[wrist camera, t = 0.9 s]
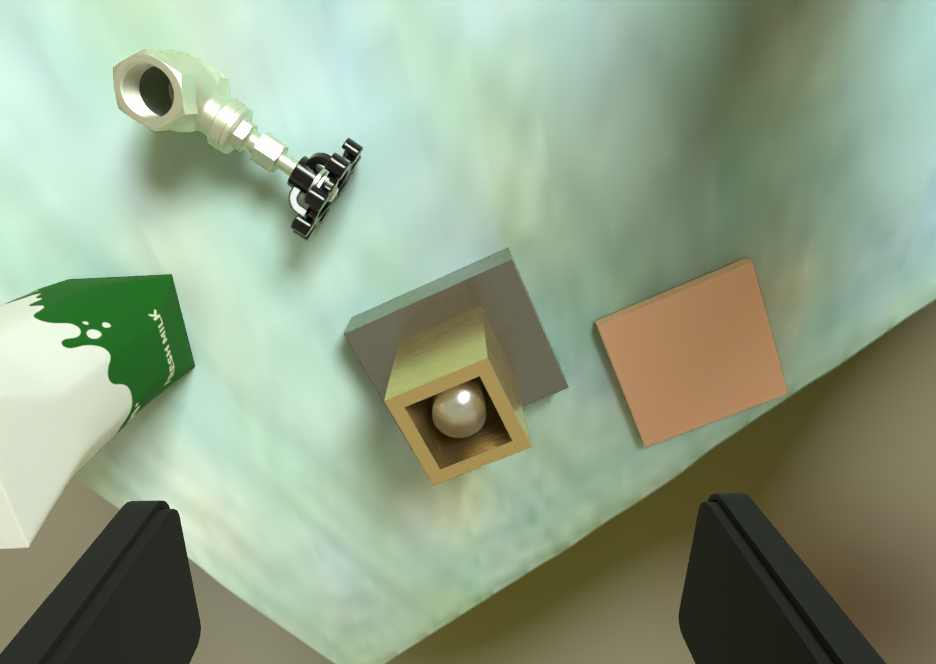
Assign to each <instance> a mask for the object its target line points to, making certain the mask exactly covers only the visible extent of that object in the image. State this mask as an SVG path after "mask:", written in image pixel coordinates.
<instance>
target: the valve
mask: <svg viewBox="0 0 936 664" xmlns="http://www.w3.org/2000/svg"><path fill="white" fill-rule="evenodd" d="M113 80H114V89H115V95H116V100H117V104H118V108H119V109H120V110H121V111H122V112H124V113H125V114H127V115H128V116H130V117H131V118H133V119H134V120H136V121H137V122H139V123H140V124H142V125H144V126H146V127H147V128H149V129H151V130H153V131H165V130H171V131H175V132H194V131H200V132H202V133H203V134H205V135H206V136H207V141H208V143H209V144H210V145H211V146H213V147H214V148H216V149H217V150H219V151H221V152H222V153H224V154H228V153H230V152H232V151H233V150H234V149H235V150H237V151H239V152H243V151H245V150H248V151H250V152H251V153H252V155H251V158H250V159H251V160H252V161H254V162H255V163H257V164H258V165H260V166H262V167H263V168H265V169H266V170H268V171H269V172H274V171H275V170H276V169H277V168H278V169H280V170H281V171H283V172H284V173H286V174H287V175H289V176H290V177H289V179H288V183H287V184H288V185H289V186H290V187H292V189H291V191H290V193H289V205H290V208H291V210H292V211H293V212H294V214H296V215H297V216H296V218H295V219H294V221H293V223H292V225H291V228H292V229H293V232H294V233H295V234H297V235H298V236H300V237H302V238H303V239H305V240H309V239H310V237H311V236H312V234H313V233H314V231H315V229H316V227H317V223H318V222H319V223H322V222H323V221H324V220H325V218H326V217H327V215H328V213H329V211H330V209H329V207H330V205H331V204H332V202H333V201H334V199H335V197H336V196H340V195H341V193H342V192H343V190H344V189H345V187H346V185H347V183H348V182H347V181H346V179H347V177H348V175H349V174H350V172H353V171H354V169H355V168H356V166H357V165H358V163H359V161H360V159H361V156H360V154H361V152H362V150H363V147H362V146H360V145H359V144H357V143H356V142H354V141H353V140H352V139H350V138H348V139H347V140H346V141H345V143H344V144H343V146H342V148H343V149H345V151H344V154H343V156H342V157H341V156H340V155H338V154H337V153H334V154H333V155H332V156H330V155H328V154H326V153H315V154H313V155H312V156H311V157H310V158H308V157H306V156H304V157H303V158H302V159H301V160H300V161H299V162H298V161H297V160H295V159H294V158H292V157H291V156H289V155H288V154H287V151H288V146H287V145H286V144H284V143H283V142H281V141H280V140H278V139H277V138H275V137H274V136H272V135H271V134H269V133H267V134H263V136H262V135H260V134H259V133H258V132H257V125H256V124H254V123H253V122H251V121H252V116H253V111H252V110H251V109H250V108H249V107H248V106H246V105H245V104H243V103H242V102H240V101H239V100H237V99H231V100H230V87H229V78H227V77H226V76H224V75H223V74H221V73H220V72H218V71H217V70H215V69H214V68H213V67H211V66H210V65H208V64H207V63H205V62H204V61H202V60H201V59H199V58H195V57H193V56H191V55H189V54H187V53H184V52H180V51H174V50H164V51H159V52H158V51H152V50H146V49H144V50H142V51H140V52H138V53H136V54H134V55H132V56H130V57H129V58H127V59H125V60H124V61H122V62H120V63H119V64H117V65H116V66H115V67H113ZM318 164H321V165H323V166H325V169H324V168H323V167H321V166H320V165H318ZM327 170H328V171H329V174H327ZM301 194H302V195H304V196H305V198H304V202H305V203H306V204H308V205H309V207H308V209H305V208H304V207H302V206H301V205H300V204H299V203H298V198H299V196H300V195H301Z"/></svg>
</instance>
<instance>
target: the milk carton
mask: <svg viewBox="0 0 936 664" xmlns="http://www.w3.org/2000/svg"><path fill="white" fill-rule="evenodd" d="M194 366H195V364H194V360H193V356H192V352H191V348H190V345H189V341H188V337H187V333H186V329H185V325H184V321H183V317H182V313H181V309H180V305H179V301H178V297H177V293H176V289H175V285H174V281H173V278H172V274H169V275H149V276H128V277H108V278H87V279H68V280H65V281H62V282H59V283H56V284H53V285H50V286H47V287H44V288H41V289H38V290H36V291H33V292H31V293H29V294H26V295H24V296H22V297H20V298H17V299H15V300H13V301H11V302H8V303H6V304H4V305H2V306H0V549H13V548H28V547H29V546H30V545H31V543H32V541H33V540H34V538H35V536H36V535H37V533H38V532H39V530H40V528H41V527H42V525H43V523H44V522H45V520H46V519H47V517H48V515H49V513H50V512H51V510H52V509H53V507H54V506H55V504H56V502H57V501H58V499H59V497H60V496H61V494H62V493H63V491H64V489H65V488H66V486H67V484H68V483H69V482H70V480H71V478H72V477H73V476H74V475H75V474H76V473H77V472H78V471H79V470H80V469H81V468H82V467H83V466H84V465H85V464H86V463H87V462H88V461H89V460H90V459H91V458H92V457H93V456H94V455H95V454H96V453H97V452H98V451H99V450H100V449H101V448H102V447H103V446H104V445H106V444H107V443H108V442H109V441H110V440H111V439H112V438H113V437H114V436H115V435H116V434H117V433H118V432H119V431H120V430H121V429H122V428H123V427H124V426H125V425H126V424H127V423H128V422H129V421H130V420H131V419H132V418H133V417H134V416H135V415H136V414H137V413H138V412H139V411H140V410H141V409H142V408H143V407H144V406H146V405H147V404H148V403H149V402H150V401H151V400H153V399H154V398H155V397H156V396H158V395H159V394H160V393H161V392H163V391H164V390H165V389H167V388H168V387H169V386H170V385H172V384H173V383H174V382H175V381H177V380H178V379H179V378H180V377H182V376H183V375H184V374H185V373H187V372H188V371H189V370H190V369H192V368H193V367H194Z"/></svg>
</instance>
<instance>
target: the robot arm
mask: <svg viewBox="0 0 936 664" xmlns="http://www.w3.org/2000/svg"><path fill="white" fill-rule="evenodd" d="M679 624H680V629H681V633H682V635H683V638H684V640H685V642H686V644H687V646H688V649H689V651H690V653H691V655H692V657H693V659H694V661H695V663H696V664H886V663H885V662H884V660H883V659H882V658H881V657H880V656H879V654H878V653H877V652H876V651H875V650H874V648H873V647H872V646H871V645H870V643H869V642H868V641H867V640H866V638H865V637H864V636H863V635H862V634H861V632H860V631H859V630H858V629H857V627H856V626H855V625H854V624H853V623H852V622H851V620H850V619H849V618H848V616H847V615H846V614H845V613H844V612H843V610H842V609H841V608H840V607H839V605H838V604H837V603H836V602H835V601H834V599H833V598H832V597H831V596H830V594H829V593H828V592H827V591H826V590H825V588H824V587H823V586H822V585H821V584H820V582H819V581H818V580H817V579H816V577H815V576H814V575H813V574H812V572H811V571H810V570H809V569H808V568H807V566H806V565H805V564H804V563H803V561H802V560H801V559H800V558H799V557H798V555H797V554H796V553H795V552H794V550H793V549H792V548H791V547H790V546H789V544H788V543H787V542H786V541H785V539H784V538H783V537H782V536H781V535H780V534H779V532H778V531H777V530H776V528H775V527H774V526H773V525H772V524H771V522H770V521H769V520H768V519H767V517H766V516H765V515H764V514H763V513H762V511H761V510H760V509H759V508H758V506H757V505H756V504H755V503H754V502H753V500H752V499H751V498H750V497H749V496H748V495H747V494H743V493H733V494H732V493H731V494H730V493H728V494H713V495H711V496H710V497H709V500H708V502H703V503H702V504H701V505H700V508H699V512H698V517H697V522H696V527H695V532H694V537H693V543H692V548H691V553H690V558H689V563H688V568H687V574H686V579H685V584H684V589H683V594H682V599H681V605H680V610H679ZM200 631H201V626H200V618H199V613H198V608H197V603H196V598H195V593H194V588H193V583H192V578H191V573H190V568H189V563H188V557H187V552H186V547H185V542H184V537H183V532H182V527H181V522H180V517H179V513H178V511H177V510H175V509H170V508H169V505H168V504H167V502H165V501H130V502H127V503H126V504H125V505H124V506H123V507H122V508H121V509H120V511H119V512H118V513H117V514H116V515H115V517H114V518H113V519H112V520H111V521H110V523H109V524H108V525H107V526H106V527H105V529H104V530H103V531H102V532H101V534H100V535H99V536H98V537H97V538H96V540H95V541H94V542H93V543H92V544H91V546H90V547H89V548H88V549H87V551H86V552H85V553H84V554H83V555H82V557H81V558H80V559H79V560H78V561H77V563H76V564H75V565H74V566H73V567H72V569H71V570H70V571H69V572H68V573H67V575H66V576H65V577H64V578H63V580H62V581H61V582H60V583H59V584H58V586H57V587H56V588H55V589H54V591H53V592H52V593H51V594H50V595H49V596H48V597H47V598H46V600H45V601H44V602H43V603H42V604H41V606H40V607H39V608H38V609H37V611H36V612H35V613H34V614H33V615H32V616H31V618H30V619H29V620H28V621H27V623H26V624H25V625H24V627H22V629H21V630H20V631H19V632H18V634H17V635H16V636H15V637H14V638H13V640H12V641H11V642H10V643H9V644H8V646H7V647H6V648H5V649H4V650H3V652H2V653H1V654H0V664H189V663H190V661H191V659H192V656H193V654H194V652H195V650H196V648H197V645H198V642H199V638H200Z"/></svg>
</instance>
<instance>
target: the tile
mask: <svg viewBox="0 0 936 664" xmlns="http://www.w3.org/2000/svg"><path fill="white" fill-rule="evenodd" d="M595 324H596V326H597V329H598V331H599V334H600V336H601V339H602V341H603V344H604V346H605V349H606V351H607V354H608V356H609V359H610V361H611V364H612V366H613V369H614V371H615V374H616V376H617V379H618V382H619V384H620V387H621V389H622V392H623V394H624V397H625V399H626V402H627V404H628V407H629V409H630V412H631V414H632V417H633V419H634V422H635V424H636V427H637V429H638V432H639V434H640V437H641V439H642V441H643V443H644V445H645V447H648V446H651V445H654V444H656V443H659V442H662V441H664V440H667V439H669V438H672V437H675V436H677V435H680V434H683V433H685V432H688V431H691V430H693V429H696V428H698V427H701V426H704V425H706V424H709V423H712V422H714V421H717V420H720V419H722V418H725V417H727V416H730V415H733V414H735V413H738V412H741V411H743V410H746V409H749V408H751V407H754V406H756V405H759V404H762V403H764V402H767V401H770V400H772V399H775V398H778V397H780V396H783V395H785V394H788V391H787V387H786V383H785V380H784V376H783V372H782V369H781V365H780V361H779V357H778V354H777V350H776V346H775V343H774V339H773V335H772V332H771V328H770V324H769V321H768V317H767V313H766V310H765V306H764V302H763V298H762V295H761V291H760V287H759V284H758V280H757V276H756V273H755V269H754V265H753V262H752V261H750V260H748V259H747V258H744V259H742V260H739V261H737V262H734V263H732V264H730V265H727V266H725V267H723V268H720V269H718V270H715V271H713V272H711V273H708V274H706V275H703V276H701V277H699V278H696V279H694V280H691V281H689V282H687V283H684V284H682V285H680V286H677V287H675V288H672V289H670V290H668V291H665V292H663V293H660V294H658V295H656V296H653V297H651V298H648V299H646V300H644V301H641V302H639V303H637V304H634V305H632V306H629V307H627V308H625V309H622V310H620V311H617V312H615V313H613V314H610V315H608V316H605V317H603V318H601V319H598V320H596V321H595Z"/></svg>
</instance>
